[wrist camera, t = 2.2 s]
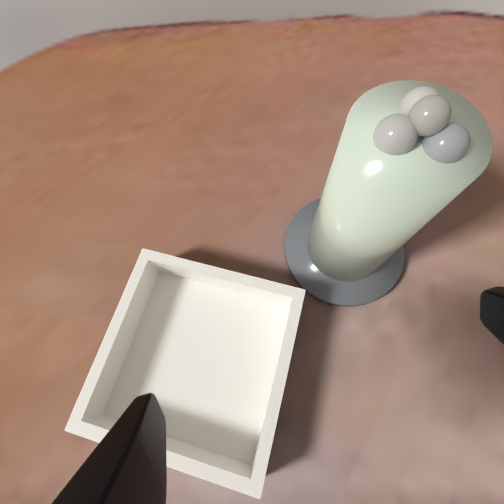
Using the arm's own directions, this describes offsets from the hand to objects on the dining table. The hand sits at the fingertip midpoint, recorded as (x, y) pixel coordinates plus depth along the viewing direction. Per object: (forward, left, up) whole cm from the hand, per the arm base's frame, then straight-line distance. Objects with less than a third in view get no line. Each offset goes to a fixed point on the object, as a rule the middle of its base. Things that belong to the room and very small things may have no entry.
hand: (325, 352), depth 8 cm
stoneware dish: (+6, +1, -14) cm, 15 cm away
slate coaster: (-2, -9, -14) cm, 17 cm away
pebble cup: (-2, -9, -13) cm, 16 cm away
